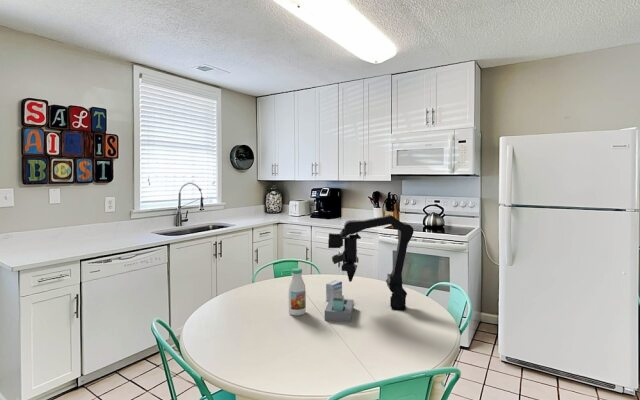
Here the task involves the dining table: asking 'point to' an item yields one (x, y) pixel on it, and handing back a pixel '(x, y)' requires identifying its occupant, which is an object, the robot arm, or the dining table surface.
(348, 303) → the socket plate
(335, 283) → the medicine box
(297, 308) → the milk bottle
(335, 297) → the plug
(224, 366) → the dining table surface
